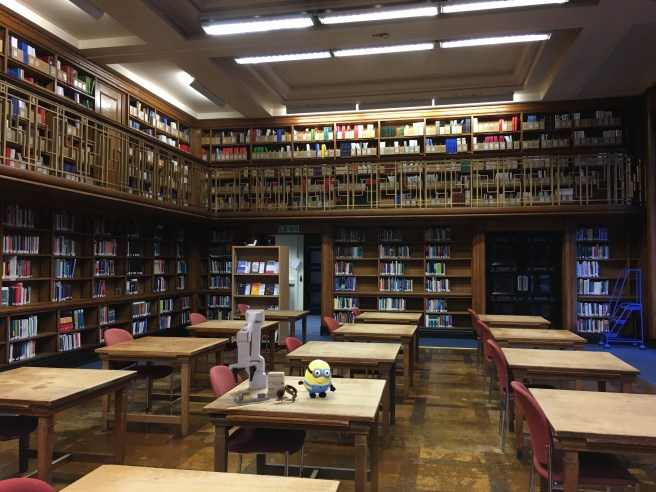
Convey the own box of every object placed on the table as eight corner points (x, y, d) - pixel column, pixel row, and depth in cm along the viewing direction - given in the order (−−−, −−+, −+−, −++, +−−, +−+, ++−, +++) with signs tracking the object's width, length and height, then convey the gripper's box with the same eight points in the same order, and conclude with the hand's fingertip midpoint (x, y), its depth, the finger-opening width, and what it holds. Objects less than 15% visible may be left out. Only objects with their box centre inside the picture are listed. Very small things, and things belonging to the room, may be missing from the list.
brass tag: (250, 398, 248) (250, 394, 248) (250, 399, 247) (250, 395, 247) (243, 399, 246) (243, 395, 246) (243, 400, 245) (243, 396, 245)
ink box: (285, 393, 267) (285, 371, 267) (283, 396, 262) (283, 373, 262) (269, 393, 267) (269, 371, 268) (267, 395, 263) (267, 373, 263)
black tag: (264, 396, 251) (264, 392, 251) (265, 397, 251) (265, 393, 251) (257, 397, 250) (257, 393, 250) (258, 398, 249) (258, 394, 249)
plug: (246, 400, 254) (246, 389, 254) (249, 403, 249) (249, 391, 250) (238, 401, 252) (238, 390, 252) (241, 404, 247) (241, 392, 248)
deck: (244, 393, 267) (244, 391, 267) (248, 397, 260) (248, 395, 260) (229, 395, 263) (229, 393, 263) (233, 399, 256) (233, 397, 256)
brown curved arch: (283, 396, 263) (291, 383, 262) (294, 407, 257) (302, 394, 256) (268, 395, 254) (276, 381, 253) (279, 407, 248) (287, 392, 247)
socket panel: (264, 397, 259) (264, 393, 259) (269, 401, 251) (269, 396, 252) (233, 401, 251) (233, 397, 251) (238, 405, 244) (238, 400, 244)
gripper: (232, 357, 245) (232, 385, 245) (260, 354, 252) (260, 382, 252) (227, 355, 252) (227, 382, 251) (255, 352, 258) (255, 379, 258)
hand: (243, 382), depth 252 cm, fingers open, 7 cm apart
